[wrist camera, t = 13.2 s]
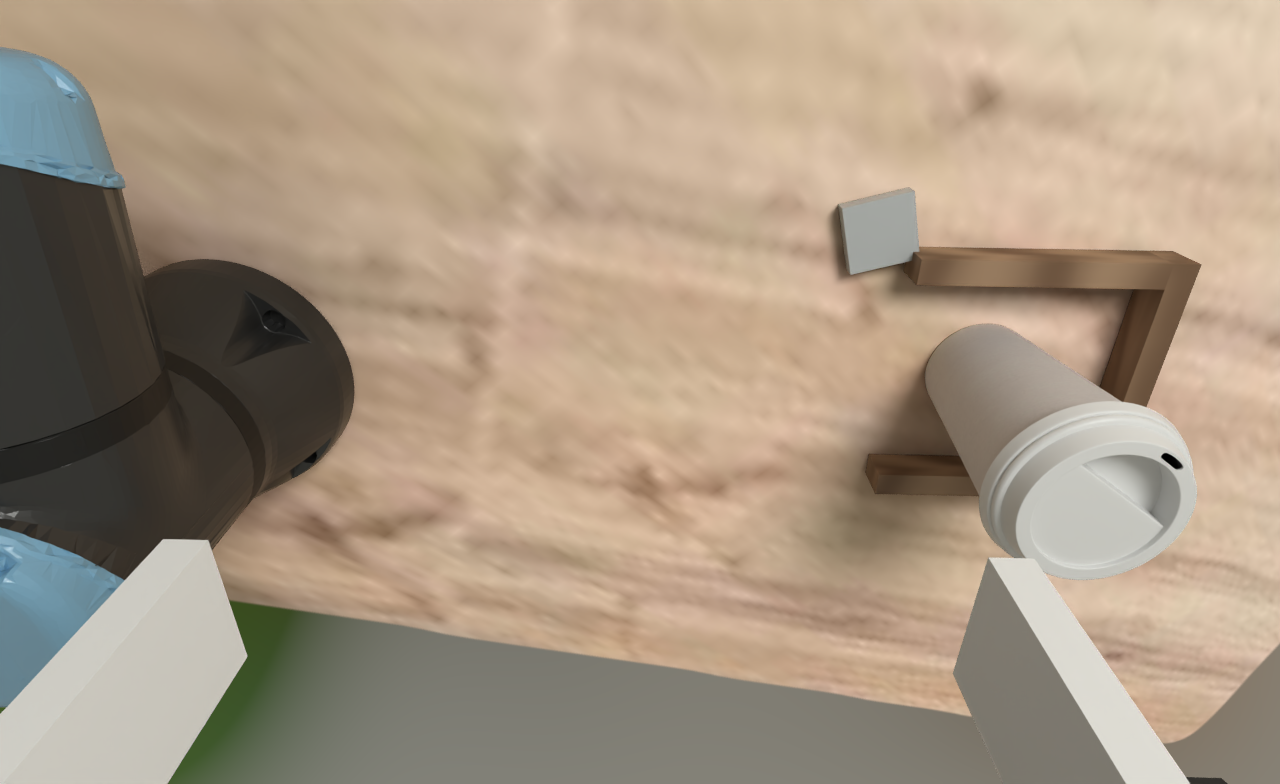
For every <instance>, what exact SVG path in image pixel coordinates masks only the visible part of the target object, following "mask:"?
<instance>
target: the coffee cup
mask: <svg viewBox="0 0 1280 784" xmlns="http://www.w3.org/2000/svg"><path fill="white" fill-rule="evenodd" d="M925 385H926V389H927V392H928V394H929V396H930V398H931V400H932V402H933V404H934V406H935V408H936V410H937V412H938V414H939V416H940V418H941V420H942V422H943V424H944V426H945V428H946V430H947V432H948V434H949V436H950V438H951V440H952V442H953V444H954V446H955V448H956V450H957V452H958V454H959V456H960V458H961V460H962V462H963V464H964V466H965V468H966V470H967V472H968V474H969V476H970V478H971V480H972V482H973V484H974V486H975V488H976V490H977V492H978V494H979V496H980V497H979V511H980V517H981V521H982V523H983V526H984V528H985V530H986V532H987V533H988V535H989V536H990V538H991V539H992V540H993V541H994V542H995V543H996V544H997V545H998V546H999V547H1000V548H1002V549H1003V550H1004V551H1005V552H1007V553H1008V554H1009V555H1011V556H1012V557H1014V558H1029V559H1035V560H1036V562H1037V563H1038V565H1039V566H1040V567H1041V569H1042V570H1043V572H1045V573H1047V574H1050V575H1052V576H1056V577H1059V578H1064V579H1072V580H1092V579H1100V578H1106V577H1110V576H1114V575H1118V574H1121V573H1124V572H1126V571H1129V570H1132V569H1134V568H1136V567H1138V566H1140V565H1142V564H1144V563H1146V562H1147V561H1149V560H1151V559H1152V558H1154V557H1155V556H1157V555H1158V554H1160V553H1161V552H1162V551H1163V550H1165V549H1166V548H1167V547H1168V546H1169V545H1170V544H1171V543H1172V542H1173V541H1174V540H1175V539H1176V538H1177V537H1178V536H1179V535H1180V533H1181V532H1182V531H1183V529H1184V528H1185V527H1186V525H1187V523H1188V522H1189V520H1190V518H1191V516H1192V513H1193V511H1194V507H1195V504H1196V498H1197V486H1196V481H1195V477H1194V474H1193V465H1192V460H1191V457H1190V454H1189V451H1188V448H1187V446H1186V444H1185V442H1184V440H1183V439H1182V437H1181V435H1180V433H1179V432H1178V430H1177V429H1176V428H1175V426H1174V425H1173V424H1172V423H1171V422H1170V421H1169V420H1167V419H1166V418H1165V417H1164V416H1162V415H1161V414H1159V413H1157V412H1155V411H1154V410H1151V409H1149V408H1147V407H1144V406H1141V405H1137V404H1133V403H1127V402H1121V401H1120V400H1118V399H1117V398H1115V397H1114V396H1112V395H1111V394H1109V393H1107V392H1106V391H1104V390H1103V389H1101V388H1100V387H1098V386H1097V385H1095V384H1094V383H1092V382H1091V381H1089V380H1088V379H1086V378H1084V377H1083V376H1081V375H1080V374H1078V373H1077V372H1075V371H1074V370H1072V369H1071V368H1069V367H1068V366H1066V365H1065V364H1063V363H1062V362H1060V361H1059V360H1057V359H1056V358H1054V357H1052V356H1051V355H1049V354H1048V353H1046V352H1045V351H1043V350H1042V349H1040V348H1039V347H1037V346H1036V345H1034V344H1033V343H1031V342H1030V341H1028V340H1027V339H1025V338H1024V337H1022V336H1021V335H1019V334H1018V333H1016V332H1014V331H1013V330H1011V329H1009V328H1007V327H1004V326H1001V325H997V324H978V325H973V326H969V327H966V328H964V329H961V330H959V331H957V332H955V333H954V334H952V335H951V336H949V337H948V338H946V339H945V340H944V341H943V342H942V343H941V344H940V345H939V346H938V347H937V348H936V350H935V351H934V352H933V354H932V356H931V357H930V359H929V362H928V364H927V367H926V372H925Z"/></svg>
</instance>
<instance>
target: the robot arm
mask: <svg viewBox="0 0 1280 784" xmlns="http://www.w3.org/2000/svg"><path fill="white" fill-rule="evenodd" d="M122 188H126V187H125V182H124V179H123V177H122V175H120V174H119V173H117V172H116V171H115V168H114V165H113V162H112V160H111V157H110V154H109V151H108V148H107V145H106V142H105V139H104V136H103V133H102V130H101V127H100V123H99V120H98V117H97V114H96V111H95V108H94V105H93V103H92V100H91V98H90V96H89V94H88V93H87V91H86V89H85V88H84V87H83V85H82V84H81V83H80V82H79V81H78V80H77V79H76V78H75V77H74V76H73V75H72V74H71V73H70V72H68V71H67V70H66V69H65V68H63V67H62V66H60V65H58V64H57V63H55V62H53V61H51V60H49V59H47V58H44V57H42V56H39V55H36V54H33V53H29V52H25V51H20V50H15V49H10V48H4V47H0V707H7V708H6V709H5V710H4V711H3V712H2V713H1V714H0V784H167V783H168V782H169V780H170V778H171V777H172V775H173V774H174V772H175V771H176V769H177V767H178V766H179V764H180V762H181V761H182V759H183V758H184V756H185V754H186V753H187V751H188V750H189V748H190V747H191V745H192V744H193V742H194V740H195V739H196V737H197V735H198V734H199V733H200V731H201V729H202V728H203V726H204V725H205V723H206V721H207V719H208V718H209V717H210V715H211V713H212V712H213V710H214V709H215V707H216V706H217V703H218V702H219V701H220V699H221V697H222V696H223V694H224V693H225V691H226V690H227V688H228V686H229V685H230V683H231V682H232V680H233V679H234V677H235V675H236V674H237V672H238V671H239V669H240V668H241V666H242V664H243V663H244V661H245V660H246V658H247V654H246V651H245V648H244V645H243V642H242V639H241V636H240V633H239V630H238V627H237V624H236V621H235V618H234V615H233V612H232V609H231V606H230V603H229V600H228V597H227V594H226V591H225V588H224V585H223V582H222V579H221V576H220V573H219V571H218V568H217V565H216V562H215V559H214V556H213V553H212V549H213V548H214V547H215V546H216V544H217V543H218V542H219V541H220V539H221V538H222V537H223V536H224V534H225V533H226V532H227V530H228V529H229V528H230V527H231V525H232V524H233V523H234V522H235V520H236V519H237V518H238V517H239V515H240V514H241V513H242V512H243V510H244V509H245V508H246V507H247V506H248V504H249V503H250V502H251V501H252V500H253V499H254V498H256V497H258V496H260V495H261V494H263V493H265V492H267V491H269V490H271V489H273V488H275V487H277V486H279V485H281V484H283V483H285V482H287V481H289V480H290V479H292V478H294V477H296V476H298V475H300V474H302V473H303V472H305V471H307V470H308V469H310V468H311V467H313V466H314V465H315V464H316V463H317V462H318V461H320V460H321V459H322V458H323V457H324V456H325V455H326V453H327V452H328V451H329V450H330V448H331V447H332V446H333V444H334V443H335V442H336V440H337V439H338V438H339V436H340V435H341V434H342V432H343V431H344V429H345V427H346V425H347V423H348V421H349V418H350V415H351V412H352V408H353V402H354V380H353V374H352V370H351V365H350V362H349V359H348V356H347V354H346V351H345V349H344V347H343V345H342V343H341V341H340V339H339V338H338V336H337V334H336V333H335V331H334V330H333V328H332V327H331V325H330V324H329V323H328V322H327V320H326V319H325V318H324V317H323V316H322V314H321V313H320V312H319V311H318V310H317V309H316V308H315V307H314V306H313V305H312V304H311V303H310V302H309V301H308V300H306V299H305V298H304V297H303V296H302V295H300V294H299V293H298V292H296V291H295V290H294V289H292V288H291V287H289V286H288V285H286V284H285V283H283V282H281V281H280V280H278V279H276V278H274V277H272V276H270V275H268V274H266V273H264V272H261V271H259V270H256V269H254V268H251V267H248V266H245V265H241V264H237V263H233V262H228V261H221V260H209V259H200V260H188V261H182V262H177V263H174V264H170V265H168V266H165V267H162V268H160V269H158V270H156V271H154V272H152V273H150V274H148V275H146V276H145V277H144V276H143V272H142V269H141V265H140V261H139V257H138V253H137V249H136V245H135V241H134V237H133V233H132V229H131V225H130V221H129V217H128V213H127V209H126V205H125V201H124V197H123V193H122ZM953 675H954V677H955V679H956V681H957V684H958V686H959V688H960V690H961V693H962V695H963V697H964V699H965V702H966V704H967V706H968V708H969V710H970V713H971V715H972V717H973V719H974V722H975V724H976V726H977V728H978V730H979V733H980V735H981V737H982V739H983V742H984V744H985V746H986V748H987V750H988V753H989V755H990V757H991V759H992V762H993V764H994V766H995V768H996V770H997V773H998V775H999V777H1000V779H1001V782H1002V784H1227V783H1226V782H1225V781H1224V780H1223V779H1222V778H1194V777H1185V776H1184V774H1183V773H1182V771H1181V770H1180V768H1179V767H1178V765H1177V764H1176V763H1175V761H1174V760H1173V758H1172V757H1171V755H1170V754H1169V752H1168V751H1167V749H1166V748H1165V747H1164V745H1163V744H1162V742H1161V741H1160V739H1159V738H1158V736H1157V735H1156V734H1155V732H1154V731H1153V729H1152V728H1151V726H1150V725H1149V723H1148V722H1147V721H1146V719H1145V718H1144V716H1143V715H1142V713H1141V712H1140V710H1139V709H1138V708H1137V706H1136V705H1135V703H1134V702H1133V700H1132V699H1131V697H1130V696H1129V695H1128V693H1127V692H1126V690H1125V689H1124V687H1123V686H1122V684H1121V683H1120V682H1119V680H1118V679H1117V677H1116V676H1115V674H1114V673H1113V671H1112V670H1111V669H1110V667H1109V666H1108V664H1107V663H1106V661H1105V660H1104V658H1103V657H1102V656H1101V654H1100V653H1099V651H1098V650H1097V648H1096V647H1095V645H1094V644H1093V643H1092V641H1091V640H1090V638H1089V637H1088V635H1087V634H1086V632H1085V631H1084V630H1083V628H1082V627H1081V625H1080V624H1079V622H1078V621H1077V619H1076V618H1075V617H1074V615H1073V614H1072V612H1071V611H1070V609H1069V608H1068V606H1067V605H1066V604H1065V602H1064V601H1063V599H1062V598H1061V596H1060V595H1059V593H1058V592H1057V591H1056V589H1055V588H1054V586H1053V585H1052V583H1051V582H1050V580H1049V579H1048V578H1047V576H1046V575H1045V573H1044V572H1043V570H1042V569H1041V567H1040V566H1039V565H1038V563H1037V562H1036V560H1035V559H1029V558H988V560H987V564H986V567H985V570H984V573H983V577H982V580H981V583H980V587H979V590H978V593H977V596H976V600H975V603H974V606H973V609H972V613H971V616H970V619H969V622H968V626H967V629H966V632H965V636H964V639H963V642H962V645H961V649H960V652H959V655H958V658H957V662H956V665H955V668H954V671H953Z"/></svg>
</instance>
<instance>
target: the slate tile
mask: <svg viewBox="0 0 1280 784" xmlns="http://www.w3.org/2000/svg"><path fill="white" fill-rule="evenodd" d="M838 207H839V215H840V222H841V230H842V238H843V246H844V254H845V261H846V269H847V271H848V272H849V273H850V275H852V274H856V273H861V272H865V271H869V270H874V269H878V268H882V267H887V266H891V265H895V264H900V263H904V262H909V261H912V257H913V252H919V241H918V228H917V216H916V203H915V191H914V190H912V189H911V188H909V187H908V188H904V189H900V190H895V191H891V192H887V193H883V194H879V195H875V196H871V197H867V198H863V199H858V200H854V201H850V202H846V203H842V204H838Z"/></svg>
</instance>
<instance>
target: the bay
mask: <svg viewBox="0 0 1280 784" xmlns="http://www.w3.org/2000/svg"><path fill="white" fill-rule="evenodd" d="M1200 267H1201V264H1199V263H1197V262H1195V261H1193V260H1191V259H1189V258H1186V257H1184V256H1182V255H1180V254H1178V253H1176V252H1173V251H1126V250H1067V249H1009V248H950V247H919V252H913V257H912V261H909V262H905V266H904V272H905V273H906V274H907V275H908V277H909V278H910V279H911V280H912V281H913V282H914V283H915V284H916V285H930V286H987V287H1044V288H1101V289H1134V291H1133V293H1132V296H1131V299H1130V302H1129V305H1128V308H1127V311H1126V314H1125V316H1124V319H1123V322H1122V325H1121V328H1120V331H1119V334H1118V337H1117V339H1116V342H1115V345H1114V348H1113V351H1112V354H1111V357H1110V360H1109V362H1108V365H1107V368H1106V371H1105V374H1104V377H1103V380H1102V383H1101V385H1100V388H1101V389H1103V390H1104V391H1106V392H1107V393H1109V394H1111V395H1112V396H1114V397H1115V398H1117V399H1118V400H1120V401H1121V402H1127V403H1133V404H1137V405H1141V406H1144V407H1146V406H1147V404H1148V401H1149V399H1150V396H1151V394H1152V391H1153V388H1154V386H1155V383H1156V381H1157V378H1158V375H1159V373H1160V370H1161V368H1162V365H1163V363H1164V360H1165V357H1166V355H1167V352H1168V350H1169V347H1170V344H1171V342H1172V339H1173V337H1174V334H1175V332H1176V329H1177V326H1178V324H1179V321H1180V319H1181V316H1182V313H1183V311H1184V308H1185V306H1186V303H1187V301H1188V298H1189V295H1190V293H1191V290H1192V288H1193V285H1194V282H1195V280H1196V277H1197V275H1198V272H1199V270H1200ZM866 475H867V477H868V479H869V481H870V484H871V486H872V488H873V490H874V492H875V494H909V495H957V496H979V494H978V492H977V490H976V488H975V486H974V484H973V482H972V480H971V478H970V476H969V474H968V472H967V470H966V468H965V466H964V464H963V462H962V460H961V458H960V456H932V455H883V454H869V457H868V462H867V467H866Z"/></svg>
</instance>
